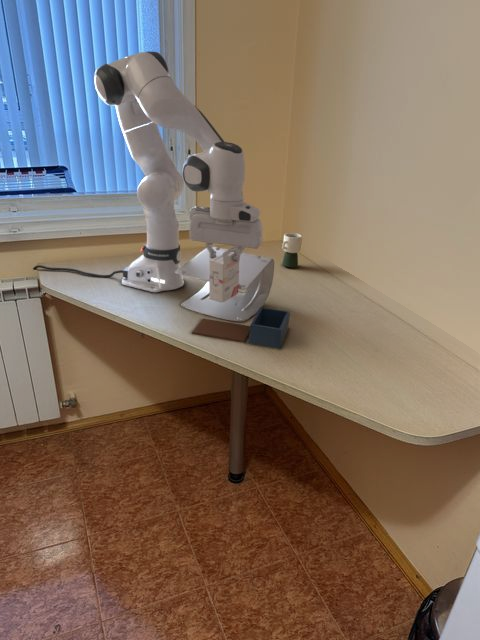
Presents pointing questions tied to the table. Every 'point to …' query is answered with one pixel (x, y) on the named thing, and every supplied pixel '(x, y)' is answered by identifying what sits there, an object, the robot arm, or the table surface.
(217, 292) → the ink cartridge box
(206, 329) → the cork mat
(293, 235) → the character mug
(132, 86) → the robot arm
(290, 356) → the table surface
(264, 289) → the laptop stand
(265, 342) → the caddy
